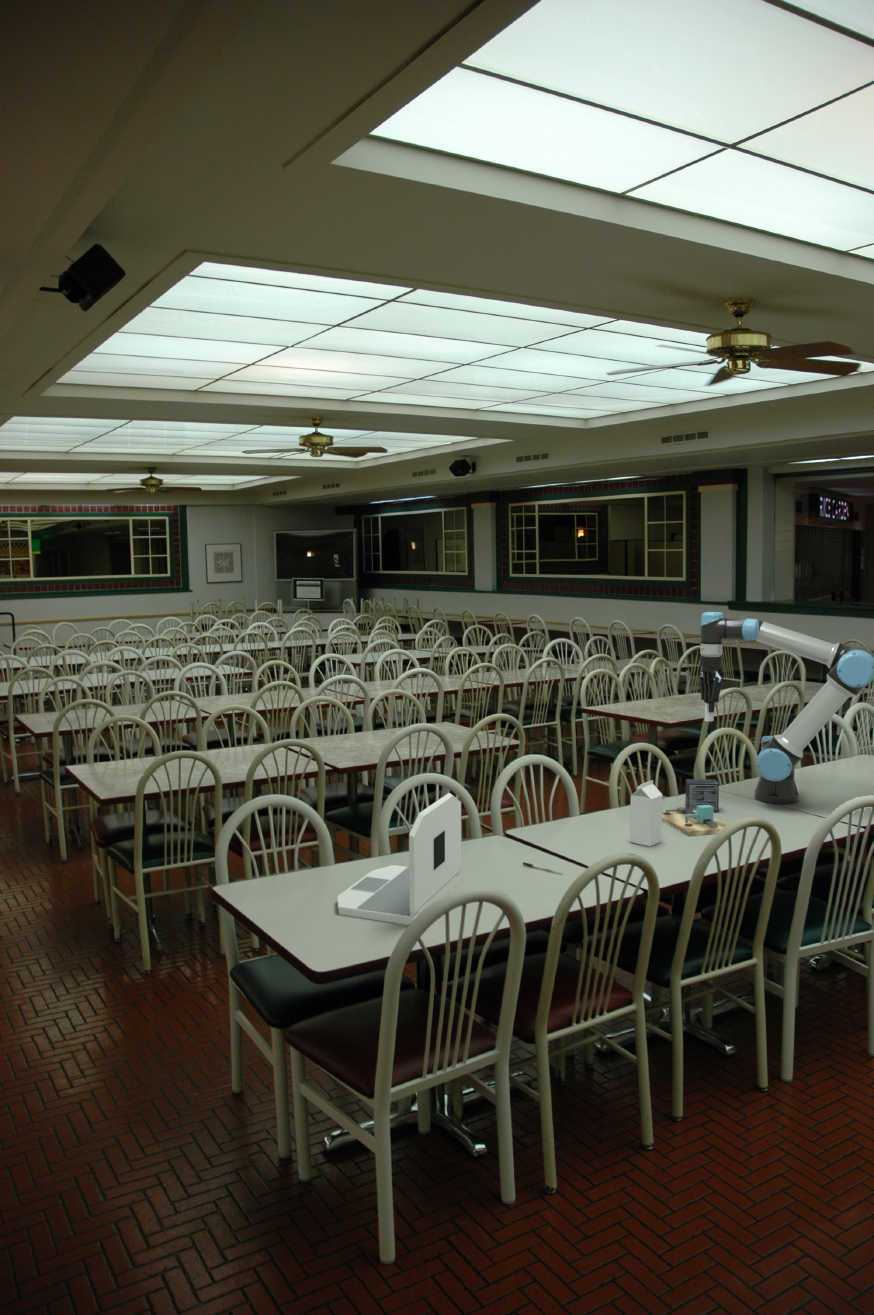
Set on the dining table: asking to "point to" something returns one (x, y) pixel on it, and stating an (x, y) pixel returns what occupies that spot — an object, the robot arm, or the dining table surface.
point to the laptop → (412, 870)
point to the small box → (702, 793)
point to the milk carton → (646, 815)
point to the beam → (690, 811)
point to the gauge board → (690, 824)
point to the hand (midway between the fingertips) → (709, 720)
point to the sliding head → (702, 813)
